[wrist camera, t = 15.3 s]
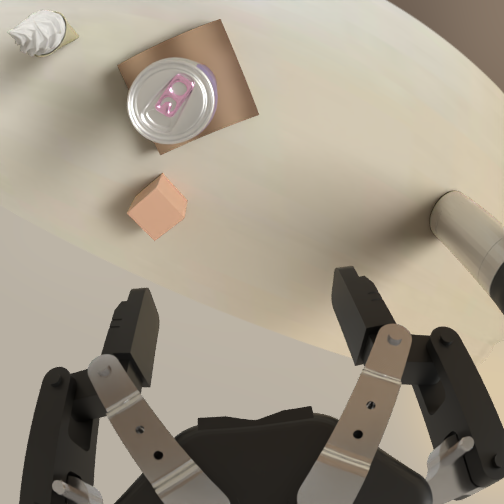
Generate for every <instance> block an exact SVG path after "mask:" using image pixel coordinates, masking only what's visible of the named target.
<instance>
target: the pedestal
mask: <svg viewBox="0 0 504 504" xmlns="http://www.w3.org/2000/svg"><path fill="white" fill-rule="evenodd" d="M174 57H176V58H185V59H189V60H192V61H196V62H199V63H202V64H204V65H205V66H207V67H208V68H209V69H210V70H211V71H212V72H213V74H214V76H215V78H216V82H217V95H218V101H217V108H216V111H215V114H214V116H213V118H212V120H211V122H210V123H209V125H208V126H207V127H206V128H205V129H204V130H203V131H202V132H201V133H200V134H198V135H197V136H195V137H193V138H191V139H189V140H187V141H184V142H181V143H177V144H160V143H156V142H154V143H155V145H156V147H157V149H158V151H159V153H160V155H162V154H164V153H166V152H168V151H171V150H173V149H175V148H177V147H179V146H182V145H184V144H186V143H189V142H191V141H193V140H195V139H198V138H200V137H203V136H205V135H207V134H210V133H212V132H215V131H217V130H220V129H222V128H225V127H227V126H230V125H233V124H235V123H238V122H241V121H243V120H246V119H249V118H251V117H254V116H257V115H259V113H258V110H257V108H256V105H255V103H254V100H253V97H252V95H251V92H250V90H249V87H248V85H247V82H246V80H245V77H244V75H243V72H242V70H241V67H240V65H239V62H238V60H237V57H236V55H235V52H234V50H233V48H232V45H231V43H230V40H229V38H228V36H227V33H226V31H225V29H224V26H223V24H222V22H221V19H219V20H216V21H213V22H210V23H208V24H205V25H202V26H200V27H197V28H195V29H192V30H190V31H187V32H185V33H182V34H180V35H178V36H175V37H173V38H171V39H169V40H166V41H164V42H162V43H160V44H158V45H156V46H153V47H151V48H149V49H147V50H145V51H143V52H141V53H139V54H137V55H135V56H134V57H132V58H130V59H128V60H126V61H124V62H122V63H121V64H119V65H117V66H118V68H119V70H120V72H121V75H122V77H123V79H124V81H125V83H126V85H127V87H128V90H130V87H131V85H132V83H133V81H134V80H135V79H136V77H137V76H138V75H139V74H140V72H141V71H142V70H144V69H145V68H146V67H147V66H149V65H150V64H152V63H154V62H156V61H159V60H162V59H165V58H174Z"/></svg>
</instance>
